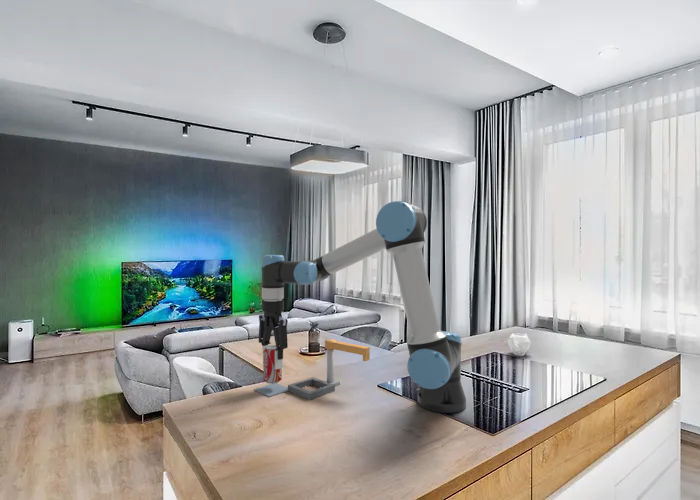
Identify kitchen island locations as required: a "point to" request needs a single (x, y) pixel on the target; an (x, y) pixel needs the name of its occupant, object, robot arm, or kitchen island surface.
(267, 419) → the kitchen island surface
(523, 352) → the white rounded lump
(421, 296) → the robot arm
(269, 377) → the beverage can
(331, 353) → the square ring with handle
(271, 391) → the rubber mat
